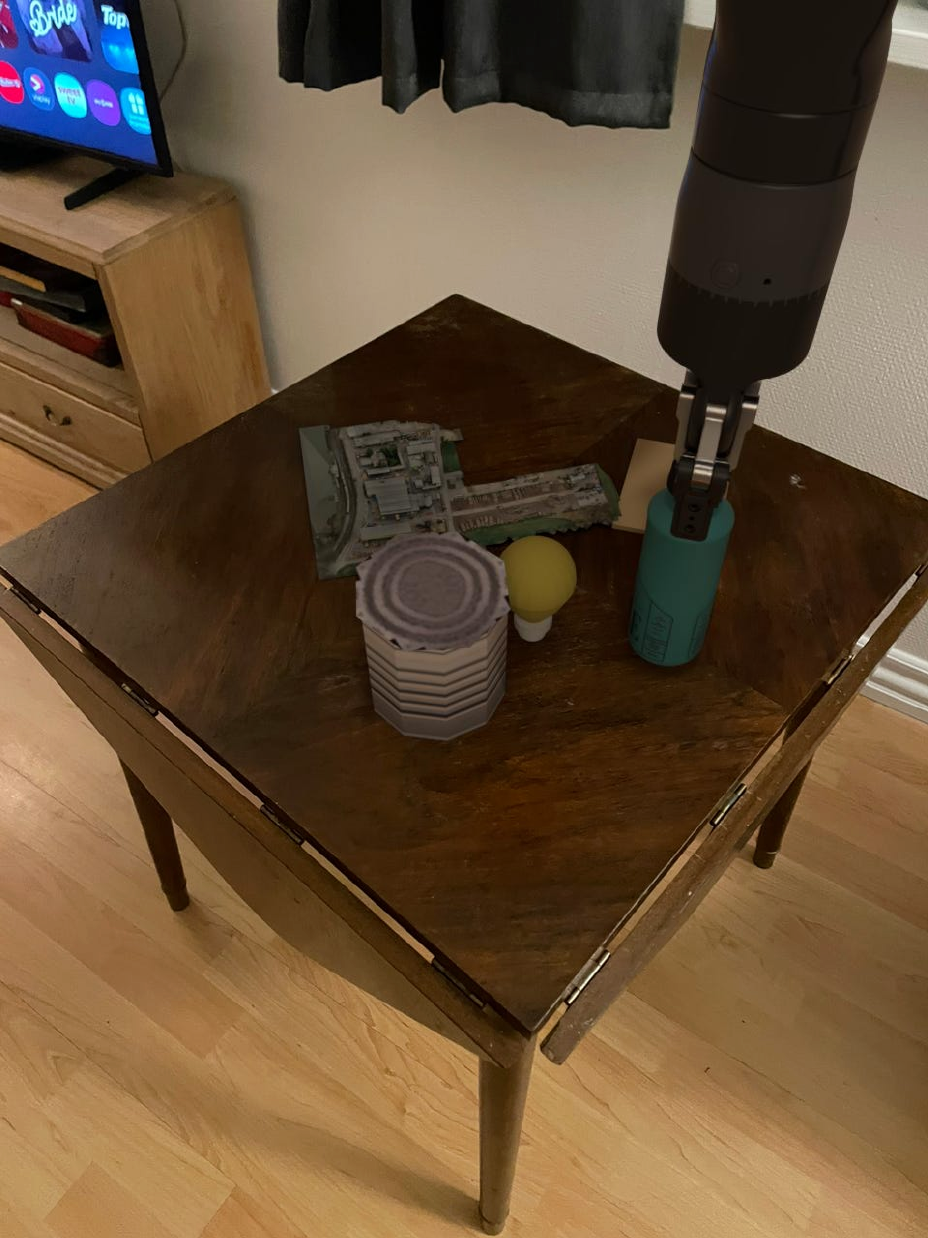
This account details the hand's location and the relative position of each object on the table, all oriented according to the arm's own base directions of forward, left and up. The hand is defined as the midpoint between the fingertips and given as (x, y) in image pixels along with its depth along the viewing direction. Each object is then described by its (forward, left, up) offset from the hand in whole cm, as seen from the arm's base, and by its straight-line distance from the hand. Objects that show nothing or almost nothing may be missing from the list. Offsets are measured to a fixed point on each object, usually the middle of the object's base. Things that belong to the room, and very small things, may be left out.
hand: (688, 531), depth 56 cm
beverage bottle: (0, -10, -22) cm, 25 cm away
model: (+23, -26, -22) cm, 41 cm away
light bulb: (+11, -9, -22) cm, 27 cm away
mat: (+2, -31, -22) cm, 38 cm away
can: (+17, -1, -22) cm, 28 cm away
